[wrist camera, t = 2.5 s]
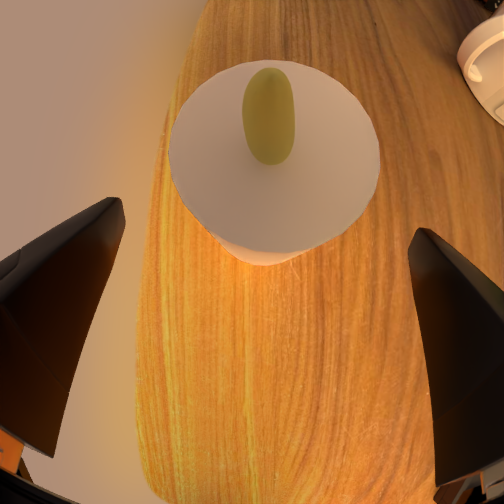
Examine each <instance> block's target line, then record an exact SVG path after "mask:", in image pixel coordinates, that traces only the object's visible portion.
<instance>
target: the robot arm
mask: <svg viewBox="0 0 504 504" xmlns="http://www.w3.org/2000/svg"><path fill="white" fill-rule="evenodd" d="M124 229H125V216H124V211H123V205H122V201H121V199H120V198H116V197H107V198H105V199H103V200H101V201H100V202H98V203H96V204H94V205H92V206H91V207H89V208H87V209H85V210H83V211H81V212H80V213H78V214H76V215H74V216H73V217H71V218H69V219H67V220H66V221H64V222H62V223H61V224H59V225H57V226H56V227H54V228H52V229H51V230H49V231H47V232H46V233H44V234H43V235H41V236H39V237H38V238H36V239H34V240H33V241H31V242H30V243H28V244H27V245H25V246H23V247H22V248H21V249H19V250H17V251H16V252H14V253H13V254H11V255H10V256H8V257H6V258H5V259H4V260H2V261H0V504H79V503H77V502H74V501H72V500H69V499H67V498H65V497H62V496H60V495H57V494H55V493H53V492H50V491H49V490H46V489H44V488H42V487H40V486H38V485H36V484H34V483H33V481H32V479H31V477H30V474H29V472H28V470H27V468H26V466H25V463H24V461H23V459H22V458H21V455H22V451H23V448H24V446H26V447H28V448H30V449H32V450H35V451H37V452H39V453H41V454H44V455H46V456H48V457H50V458H53V457H54V454H55V449H56V444H57V440H58V435H59V431H60V427H61V423H62V419H63V415H64V410H65V407H66V403H67V399H68V396H69V393H68V392H70V388H71V385H72V381H73V377H74V374H75V371H76V368H77V365H78V361H79V358H80V355H81V352H82V349H83V346H84V343H85V340H86V337H87V334H88V331H89V328H90V325H91V323H92V320H93V317H94V314H95V312H96V309H97V306H98V304H99V301H100V298H101V296H102V293H103V291H104V288H105V286H106V283H107V281H108V278H109V276H110V273H111V270H112V267H113V265H114V261H115V258H116V255H117V251H118V248H119V245H120V242H121V238H122V235H123V232H124ZM408 260H409V267H410V274H411V281H412V289H413V296H414V301H415V306H416V311H417V316H418V320H419V326H420V331H421V336H422V342H423V348H424V354H425V360H426V367H427V374H428V381H429V389H430V398H431V407H432V418H433V433H434V450H435V484H436V487H438V486H442V485H446V484H449V483H453V482H456V481H460V480H463V479H466V478H469V477H472V476H475V475H478V474H480V479H481V485H479V486H477V487H474V488H471V489H469V490H466V491H463V492H462V494H461V496H460V497H459V499H458V501H457V502H456V504H504V292H503V291H502V290H501V289H500V288H499V287H498V286H497V285H496V284H495V283H494V282H493V281H491V280H490V279H489V278H488V277H487V276H486V275H485V274H484V273H483V272H481V271H480V270H479V269H478V268H477V267H476V266H475V265H473V264H472V263H471V262H470V261H469V260H468V259H466V258H465V257H464V256H463V255H462V254H461V253H459V252H458V251H457V250H456V249H455V248H453V247H452V246H451V245H450V244H449V243H447V242H446V241H445V240H444V239H442V238H441V237H440V236H439V235H437V234H436V233H435V232H434V231H432V230H431V229H428V228H418V229H417V230H416V232H415V234H414V237H413V239H412V241H411V244H410V246H409V248H408Z"/></svg>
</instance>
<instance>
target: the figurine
mask: <svg viewBox="0 0 504 504" xmlns="http://www.w3.org/2000/svg"><path fill="white" fill-rule="evenodd" d="M483 1H484V2H486V4H485V6H484V7H486V8H488V9H489V10H491V11H493V12H494V11H495V10H496V9H497V8H498V7H499V5H500V4H501V3H502V2H503V1H504V0H483Z"/></svg>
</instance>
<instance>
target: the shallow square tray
mask: <svg viewBox="0 0 504 504" xmlns="http://www.w3.org/2000/svg"><path fill="white" fill-rule="evenodd" d="M479 485H481V479H480V474H478V475H475V476H472V477H469V478H466V479H463V480H460V481H456V482H453V483H449V484H446V485H442V486H441V487H440V489H439V491H438V492H437V494H436V496H435V498H434V499H433V500H434V501H435V502H436V503H437V504H456V502H457V501H458V499H459V497H460V496H461V494H462V492H463V491H466V490H469V489H471V488H474V487H477V486H479Z"/></svg>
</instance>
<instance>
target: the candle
mask: <svg viewBox="0 0 504 504" xmlns="http://www.w3.org/2000/svg"><path fill="white" fill-rule="evenodd" d="M168 154H169V161H170V168H171V175H172V180H173V182H174V184H175V186H176V188H177V191H178V193H179V195H180V197H181V199H182V201H183V203H184V205H185V206H186V207H187V208H188V209H189V210H190V211H191V213H192V214H193V215H194V216H195V217H196V218H197V219H198V221H199V222H200V223H201V224H202V225H203V226H204V227H205V228H206V229H207V230H208V232H209V233H210V234H211V235H212V236H213V237H214V238H215V239H216V240H217V241H218V242H219V243H220V244H221V245H222V246H223V247H224V248H225V249H226V250H227V251H228V252H229V253H230V254H231V255H233V256H234V257H236V258H237V259H239V260H240V261H243V262H246V263H249V264H252V265H261V266H270V265H274V264H279V263H283V262H285V261H287V260H289V259H291V258H294V257H296V256H298V255H300V254H302V253H305V252H307V251H309V250H311V249H313V248H315V247H318V246H320V245H321V244H323V243H325V242H327V241H329V240H331V239H333V238H335V237H337V236H339V235H341V234H342V233H343V232H345V231H346V230H347V229H348V228H349V227H350V226H351V225H352V224H353V223H354V222H355V221H356V220H357V219H358V218H359V217H360V216H361V215H362V214H363V212H364V210H365V209H366V207H367V205H368V203H369V201H370V200H371V198H372V196H373V194H374V192H375V189H376V185H377V180H378V176H379V171H380V154H379V142H378V139H377V136H376V133H375V130H374V127H373V125H372V122H371V119H370V117H369V116H368V114H367V113H366V111H365V110H364V108H363V107H362V105H361V104H360V102H359V101H358V99H357V98H356V97H355V96H354V95H353V94H352V93H350V92H349V91H348V90H347V89H346V88H345V87H344V86H343V85H342V84H341V83H339V82H338V81H337V80H335V79H333V78H332V77H330V76H328V75H326V74H325V73H323V72H321V71H319V70H317V69H315V68H312V67H309V66H305V65H302V64H299V63H295V62H291V61H279V60H261V61H254V62H247V63H241V64H239V65H236V66H234V67H231V68H228V69H226V70H223V71H221V72H219V73H217V74H216V75H214V76H213V77H211V78H210V79H208V80H207V81H206V82H204V83H203V84H201V85H200V86H199V87H198V88H197V89H196V90H195V91H194V92H193V94H192V95H191V96H190V97H189V98H188V99H187V101H186V102H185V103H184V104H183V105H182V107H181V110H180V112H179V114H178V116H177V118H176V120H175V123H174V125H173V127H172V131H171V138H170V145H169V151H168Z"/></svg>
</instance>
